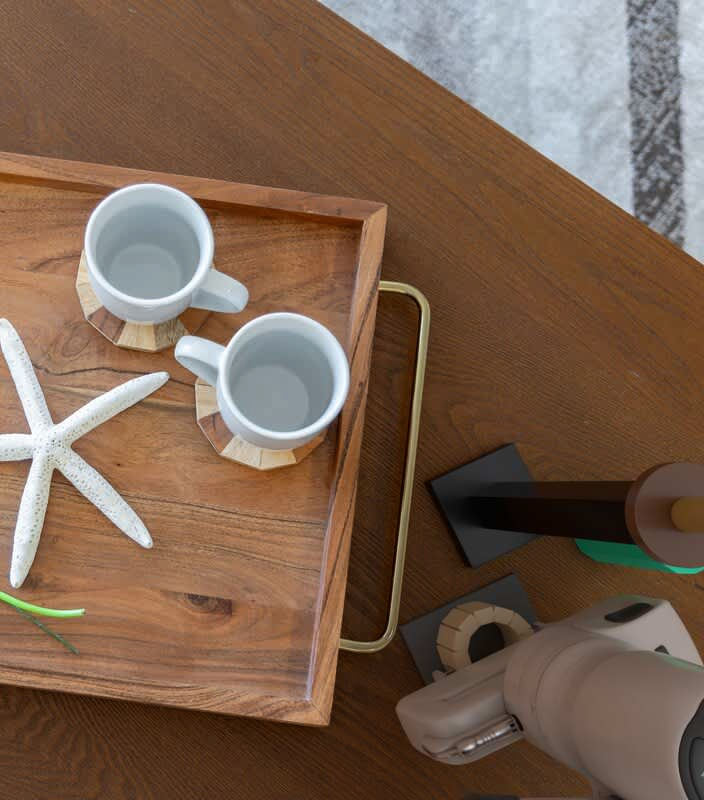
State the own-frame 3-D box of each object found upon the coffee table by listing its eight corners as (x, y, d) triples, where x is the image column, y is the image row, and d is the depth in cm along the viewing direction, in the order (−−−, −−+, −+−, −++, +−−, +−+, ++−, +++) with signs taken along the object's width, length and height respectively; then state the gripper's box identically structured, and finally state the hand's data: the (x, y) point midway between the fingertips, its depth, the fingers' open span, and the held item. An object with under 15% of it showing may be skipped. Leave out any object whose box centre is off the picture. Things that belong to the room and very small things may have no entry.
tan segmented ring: (528, 671, 74) (550, 680, 70) (452, 694, 73) (469, 705, 70) (502, 591, 74) (522, 597, 71) (426, 615, 74) (442, 621, 71)
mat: (567, 681, 74) (570, 682, 74) (450, 737, 74) (453, 739, 73) (512, 571, 75) (516, 572, 74) (397, 626, 75) (399, 627, 74)
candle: (563, 551, 75) (650, 563, 63) (579, 483, 76) (669, 482, 64) (631, 571, 75) (731, 587, 63) (647, 504, 76) (750, 507, 64)
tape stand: (548, 528, 75) (857, 556, 45) (465, 567, 75) (719, 623, 44) (506, 443, 76) (781, 414, 45) (423, 481, 76) (644, 479, 45)
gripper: (462, 808, 58) (392, 746, 72) (732, 675, 59) (612, 638, 73) (419, 719, 59) (358, 674, 73) (688, 588, 60) (577, 568, 74)
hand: (487, 655), depth 73 cm, fingers closed on tan segmented ring, 7 cm apart
